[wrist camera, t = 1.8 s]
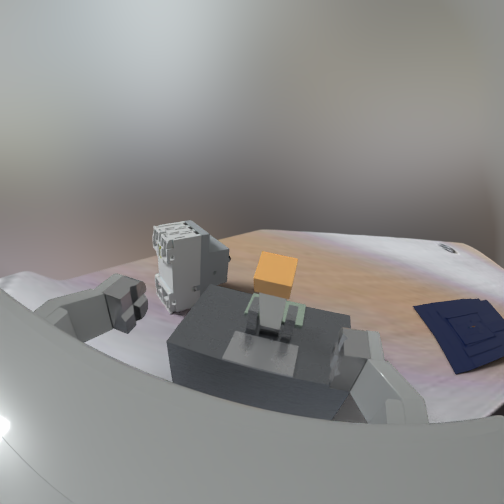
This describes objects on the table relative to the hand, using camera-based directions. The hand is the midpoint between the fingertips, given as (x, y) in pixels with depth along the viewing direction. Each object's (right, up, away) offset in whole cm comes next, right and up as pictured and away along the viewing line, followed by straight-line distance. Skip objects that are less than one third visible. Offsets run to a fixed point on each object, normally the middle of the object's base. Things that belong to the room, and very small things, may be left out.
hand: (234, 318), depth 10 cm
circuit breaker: (-11, -6, +45) cm, 47 cm away
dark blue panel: (+56, -18, +38) cm, 70 cm away
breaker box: (+2, -16, +28) cm, 32 cm away
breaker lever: (+3, -7, +24) cm, 25 cm away
